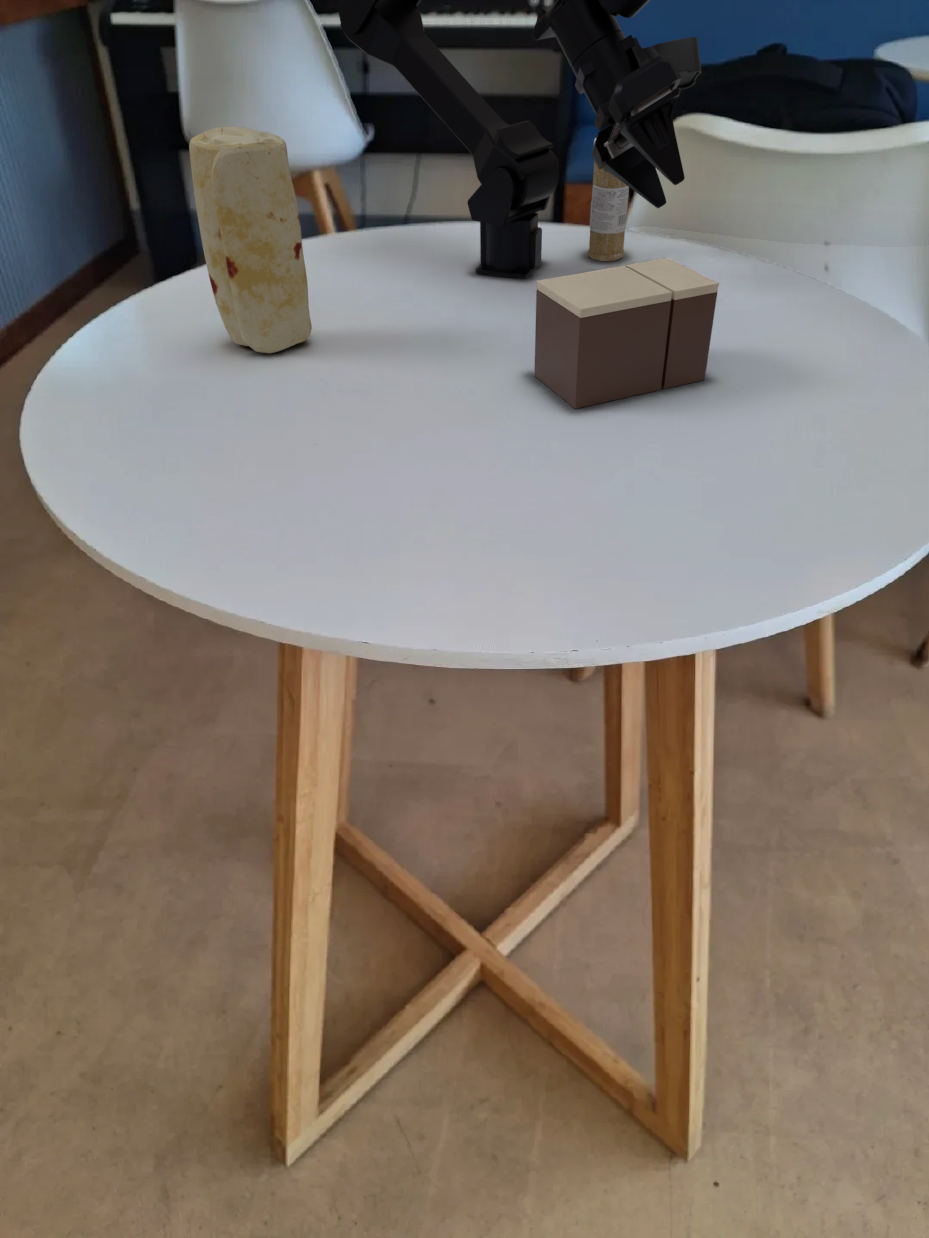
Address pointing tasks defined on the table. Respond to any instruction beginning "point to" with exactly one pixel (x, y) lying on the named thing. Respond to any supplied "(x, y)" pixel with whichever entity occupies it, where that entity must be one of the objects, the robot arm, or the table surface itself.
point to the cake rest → (601, 335)
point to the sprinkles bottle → (607, 216)
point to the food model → (251, 236)
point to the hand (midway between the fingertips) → (670, 194)
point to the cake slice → (684, 319)
